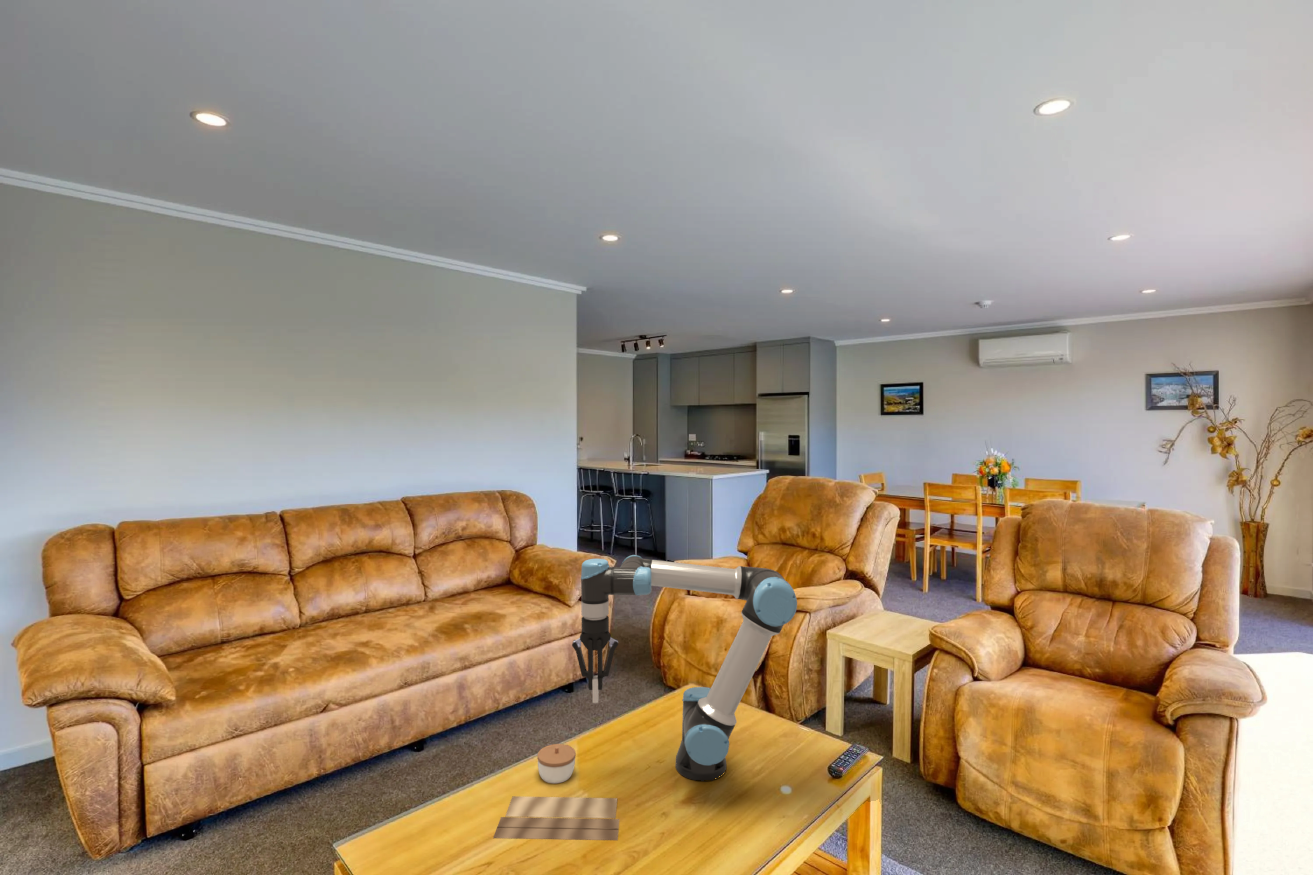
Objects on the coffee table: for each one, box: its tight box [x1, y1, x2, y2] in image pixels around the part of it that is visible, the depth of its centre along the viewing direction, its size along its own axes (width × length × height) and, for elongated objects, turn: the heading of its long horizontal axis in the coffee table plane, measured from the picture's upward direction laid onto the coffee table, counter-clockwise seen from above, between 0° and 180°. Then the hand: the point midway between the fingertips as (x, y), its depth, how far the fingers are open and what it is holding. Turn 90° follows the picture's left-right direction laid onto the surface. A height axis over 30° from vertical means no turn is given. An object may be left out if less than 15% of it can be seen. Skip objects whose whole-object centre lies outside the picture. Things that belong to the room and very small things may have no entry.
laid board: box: [492, 816, 620, 841], centre depth 151 cm, size 30×8×2 cm, turn 91°
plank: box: [504, 795, 618, 819], centre depth 160 cm, size 28×8×2 cm, turn 91°
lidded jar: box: [537, 743, 577, 784], centre depth 174 cm, size 11×11×9 cm
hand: (595, 700), depth 169 cm, fingers closed
